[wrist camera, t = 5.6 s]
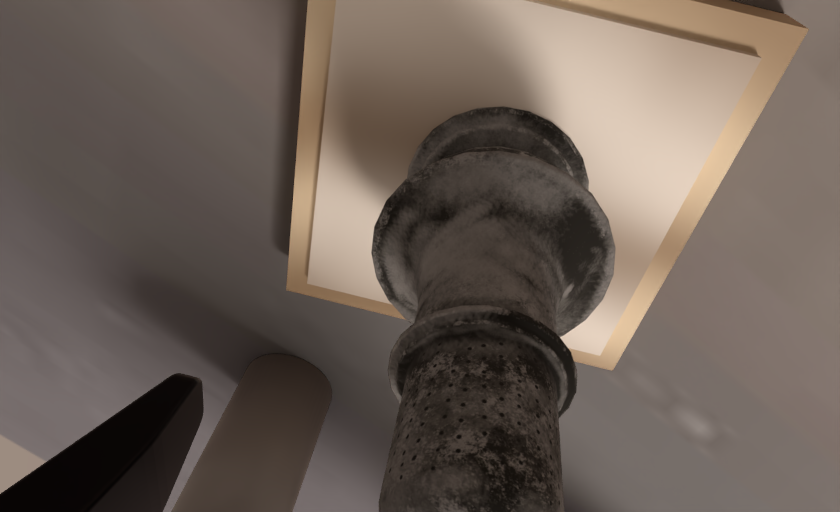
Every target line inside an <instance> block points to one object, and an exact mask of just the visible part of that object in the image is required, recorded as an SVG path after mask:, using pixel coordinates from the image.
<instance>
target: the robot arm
mask: <svg viewBox="0 0 840 512" xmlns="http://www.w3.org/2000/svg"><path fill="white" fill-rule="evenodd" d="M202 416H203V388H202V381H201V380H200V379H199V378H197V377H193V376H189V375H185V374H181V373H177V374H174V375H172V376H170V377H169V378H167V379H166V380H164V381H163V382H161V383H160V384H158V385H157V386H156V387H154V388H153V389H151V390H150V391H148V392H147V393H145V394H144V395H143V396H141V397H140V398H138V399H137V400H135V401H134V402H132V403H131V404H129V405H128V406H127V407H125V408H124V409H122V410H121V411H119V412H118V413H116V414H115V415H114V416H112V417H111V418H109V419H108V420H106V421H105V422H103V423H102V424H101V425H99V426H98V427H96V428H95V429H93V430H92V431H90V432H89V433H88V434H86V435H85V436H83V437H82V438H80V439H79V440H77V441H76V442H75V443H73V444H72V445H70V446H69V447H67V448H66V449H64V450H63V451H62V452H60V453H59V454H57V455H56V456H54V457H53V458H51V459H50V460H49V461H47V462H46V463H44V464H43V465H41V466H40V467H38V468H37V469H36V470H34V471H33V472H31V473H30V474H28V475H27V476H25V477H24V478H23V479H21V480H20V481H18V482H17V483H15V484H14V485H12V486H11V487H10V488H8V489H7V490H5V491H4V492H2V493H1V494H0V512H163V510H164V507H165V505H166V503H167V501H168V498H169V496H170V494H171V491H172V489H173V487H174V484H175V482H176V480H177V477H178V475H179V473H180V470H181V468H182V466H183V463H184V461H185V459H186V456H187V454H188V451H189V449H190V447H191V444H192V442H193V440H194V437H195V435H196V433H197V430H198V428H199V426H200V423H201V420H202Z"/></svg>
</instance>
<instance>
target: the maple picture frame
mask: <svg viewBox="0 0 840 512" xmlns="http://www.w3.org/2000/svg"><path fill="white" fill-rule="evenodd" d="M808 30H809V29H808V28H806V27H805V26H803V25H802V24H800V23H799V22H797V21H796V20H794V19H792V18H791V17H789V16H788V15H786V14H783V13H779V12H775V11H770V10H766V9H762V8H758V7H754V6H750V5H746V4H742V3H738V2H734V1H730V0H308V6H307V19H306V32H305V46H304V59H303V72H302V86H301V99H300V113H299V126H298V139H297V153H296V166H295V180H294V193H293V206H292V220H291V233H290V246H289V260H288V273H287V287H286V290H288V291H292V292H296V293H300V294H304V295H308V296H312V297H316V298H320V299H324V300H328V301H332V302H337V303H341V304H345V305H349V306H353V307H357V308H361V309H365V310H369V311H373V312H377V313H381V314H385V315H389V316H393V317H397V318H401V319H405V318H404V317H403V316H402V315H401V314H400V312H399V311H398V310H397V309H396V308H395V307H394V306H393V305H392V304H391V303H390V301H389V300H388V299H387V297H386V295H385V293H384V291H383V289H382V287H381V286H380V284H379V282H378V280H377V278H376V274H375V269H374V264H373V259H372V254H371V251H372V242H373V233H374V226H375V224H376V222H377V220H378V218H379V215H380V213H381V211H382V209H383V207H384V204H385V202H386V200H387V199H388V198H389V197H390V196H391V195H392V194H393V193H394V191H395V190H396V189H397V188H398V187H399V186H400V185H401V184H402V183H403V182H404V180H405V179H407V175H408V168H409V165H410V163H411V161H412V159H413V157H414V154H415V152H416V150H417V148H418V146H419V145H420V144H421V143H422V142H423V140H424V139H425V138H426V137H427V136H428V135H429V134H430V132H431V131H432V130H433V129H434V128H436V127H437V126H439V125H440V124H442V123H444V122H445V121H447V120H448V119H450V118H451V117H453V116H455V115H458V114H461V113H464V112H467V111H470V110H473V109H476V108H486V107H502V106H504V107H510V108H515V109H520V110H525V111H530V112H532V113H534V114H536V115H538V116H540V117H542V118H544V119H546V120H548V121H551V122H552V123H554V124H555V125H556V126H557V127H558V128H559V129H560V130H562V131H563V132H564V133H565V134H566V135H567V136H568V137H570V138H571V140H572V142H573V143H574V145H575V146H576V148H577V150H578V151H579V153H580V154H581V156H582V157H583V161H584V164H585V168H586V172H587V176H588V179H589V190H588V191H590V192H591V193H592V194H593V196H594V197H595V199H596V201H597V202H598V204H599V205H600V207H601V208H602V210H603V212H604V213H605V215H606V216H607V218H608V220H609V224H610V228H611V232H612V236H613V239H614V243H615V247H616V251H615V263H614V275H613V278H612V280H611V282H610V285H609V287H608V289H607V291H606V294H605V296H604V298H603V300H602V301H601V303H600V304H599V305H598V306H597V307H596V308H595V310H594V311H593V312H592V313H591V314H590V316H589V317H588V318H587V319H586V320H585V321H584V322H582V323H581V324H579V325H578V326H577V327H575V328H574V329H572V330H571V331H569V332H568V333H567V334H565V335H564V336H562V337H560V338H561V340H562V341H563V342H564V343H565V345H566V346H567V347H568V349H569V350H570V351H571V354H572V357H573V360H574V361H575V362H580V363H584V364H588V365H592V366H596V367H600V368H604V369H608V370H612V371H613V369H614V367H615V365H616V364H617V362H618V360H619V359H620V357H621V355H622V353H623V352H624V350H625V348H626V346H627V345H628V343H629V341H630V339H631V338H632V336H633V334H634V332H635V331H636V329H637V327H638V325H639V324H640V322H641V320H642V319H643V317H644V315H645V313H646V312H647V310H648V308H649V306H650V305H651V303H652V301H653V299H654V298H655V296H656V294H657V292H658V291H659V289H660V287H661V285H662V284H663V282H664V280H665V279H666V277H667V275H668V273H669V272H670V270H671V268H672V266H673V265H674V263H675V261H676V259H677V258H678V256H679V254H680V252H681V251H682V249H683V247H684V245H685V244H686V242H687V240H688V239H689V237H690V235H691V233H692V232H693V230H694V228H695V226H696V225H697V223H698V221H699V219H700V218H701V216H702V214H703V212H704V211H705V209H706V207H707V205H708V204H709V202H710V200H711V199H712V197H713V195H714V193H715V192H716V190H717V188H718V186H719V185H720V183H721V181H722V179H723V178H724V176H725V174H726V172H727V171H728V169H729V167H730V165H731V164H732V162H733V160H734V159H735V157H736V155H737V153H738V152H739V150H740V148H741V146H742V145H743V143H744V141H745V139H746V138H747V136H748V134H749V132H750V131H751V129H752V127H753V125H754V124H755V122H756V120H757V119H758V117H759V115H760V113H761V112H762V110H763V108H764V106H765V105H766V103H767V101H768V99H769V98H770V96H771V94H772V92H773V91H774V89H775V87H776V85H777V84H778V82H779V80H780V79H781V77H782V75H783V73H784V72H785V70H786V68H787V66H788V65H789V63H790V61H791V59H792V58H793V56H794V54H795V52H796V51H797V49H798V47H799V45H800V44H801V42H802V40H803V39H804V37H805V35H806V33H807V32H808ZM405 320H406V319H405Z"/></svg>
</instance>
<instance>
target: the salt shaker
mask: <svg viewBox="0 0 840 512" xmlns="http://www.w3.org/2000/svg"><path fill="white" fill-rule="evenodd" d="M588 190H589V179H588V176H587V172H586V168H585V164H584V161H583V157H582V156H581V154H580V153H579V151H578V150H577V148H576V146H575V145H574V143H573V142H572V140H571V138H570V137H568V136H567V135H566V134H565V133H564V132H563V131H562V130H560V129H559V128H558V127H557V126H556V125H555V124H554V123H552V122H551V121H548V120H546V119H544V118H542V117H540V116H538V115H536V114H534V113H532V112H530V111H525V110H520V109H515V108H510V107H504V106H502V107H486V108H476V109H473V110H470V111H467V112H464V113H461V114H458V115H455V116H453V117H451V118H450V119H448V120H447V121H445V122H444V123H442V124H440V125H439V126H437V127H436V128H434V129H433V130H432V131H431V132H430V134H429V135H428V136H427V137H426V138H425V139H424V140H423V142H422V143H421V144H420V145H419V146H418V148H417V150H416V152H415V154H414V157H413V159H412V161H411V163H410V165H409V168H408V175H407V179H405V180H404V182H403V183H402V184H401V185H400V186H399V187H398V188H397V189H396V190H395V191H394V193H393V194H392V195H391V196H390V197H389V198H388V199H387V200H386V202H385V204H384V207H383V209H382V211H381V213H380V215H379V218H378V220H377V222H376V224H375V226H374V233H373V242H372V251H371V254H372V259H373V264H374V269H375V274H376V278H377V280H378V282H379V284H380V286H381V287H382V289H383V291H384V293H385V295H386V297H387V299H388V300H389V301H390V303H391V304H392V305H393V306H394V307H395V308H396V309H397V310H398V311H399V312H400V314H401V315H402V316H403V317H404V318H405V319H406V320H408V321H409V322H410V323H412V325H411V326H410V327H409V328H408V329H407V330H406V331H405V332H403V333H402V334H401V335H400V337H399V339H398V340H397V342H396V344H395V346H394V347H393V349H392V351H391V355H390V361H389V366H388V375H389V380H390V385H391V389H392V391H393V392H394V394H395V396H396V398H397V399H398V401H399V403H400V407H399V412H398V416H397V421H396V425H395V430H394V434H393V439H392V444H391V448H390V453H389V457H388V462H387V466H386V471H385V475H384V480H383V484H382V489H381V494H380V499H379V512H564V500H563V484H562V468H561V452H560V435H559V417H560V416H561V415H562V414H563V413H564V412H565V411H566V410H567V409H568V408H569V406H570V404H571V402H572V399H573V397H574V395H575V393H576V386H577V369H576V366H575V363H574V360H573V357H572V354H571V351H570V350H569V349H568V347H567V346H566V345H565V343H564V342H563V341H562V340H561V338H560V337H562V336H564V335H565V334H567V333H568V332H569V331H571V330H572V329H574V328H575V327H577V326H578V325H579V324H581V323H582V322H584V321H585V320H586V319H587V318H588V317H589V316H590V314H591V313H592V312H593V311H594V310H595V308H596V307H597V306H598V305H599V304H600V303H601V301H602V300H603V298H604V296H605V294H606V291H607V289H608V287H609V285H610V282H611V280H612V278H613V275H614V263H615V251H616V247H615V243H614V239H613V236H612V232H611V228H610V224H609V220H608V218H607V216H606V215H605V213H604V212H603V210H602V208H601V207H600V205H599V204H598V202H597V201H596V199H595V197H594V196H593V194H592V193H591V192H590V191H588Z"/></svg>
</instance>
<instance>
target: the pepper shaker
mask: <svg viewBox="0 0 840 512" xmlns="http://www.w3.org/2000/svg"><path fill="white" fill-rule="evenodd" d="M331 398H332V389H331V386H330V383H329V381H328V380H327V378H326V377H325V376H324V374H323V373H322V372H321V371H320V370H319V369H317V368H316V367H315V366H313V365H312V364H310V363H309V362H307V361H305V360H302V359H300V358H297V357H294V356H290V355H285V354H268V355H264V356H261V357H259V358H257V359H255V360H254V361H252V362H251V363H250V364H249V366H248V368H247V370H246V371H245V373H244V375H243V377H242V379H241V381H240V383H239V385H238V387H237V388H236V390H235V392H234V394H233V396H232V398H231V400H230V402H229V404H228V405H227V407H226V409H225V411H224V413H223V415H222V417H221V419H220V421H219V422H218V424H217V426H216V428H215V430H214V432H213V434H212V436H211V438H210V439H209V441H208V443H207V445H206V447H205V449H204V451H203V453H202V455H201V456H200V458H199V460H198V462H197V464H196V466H195V468H194V470H193V472H192V474H191V475H190V477H189V479H188V481H187V483H186V485H185V487H184V489H183V491H182V492H181V494H180V496H179V498H178V500H177V502H176V504H175V506H174V508H173V509H172V511H171V512H292V511H293V508H294V506H295V503H296V500H297V497H298V494H299V491H300V488H301V485H302V482H303V480H304V477H305V474H306V471H307V468H308V465H309V462H310V459H311V457H312V454H313V451H314V448H315V445H316V442H317V439H318V436H319V433H320V431H321V428H322V425H323V422H324V419H325V416H326V413H327V410H328V408H329V405H330V402H331Z"/></svg>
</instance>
